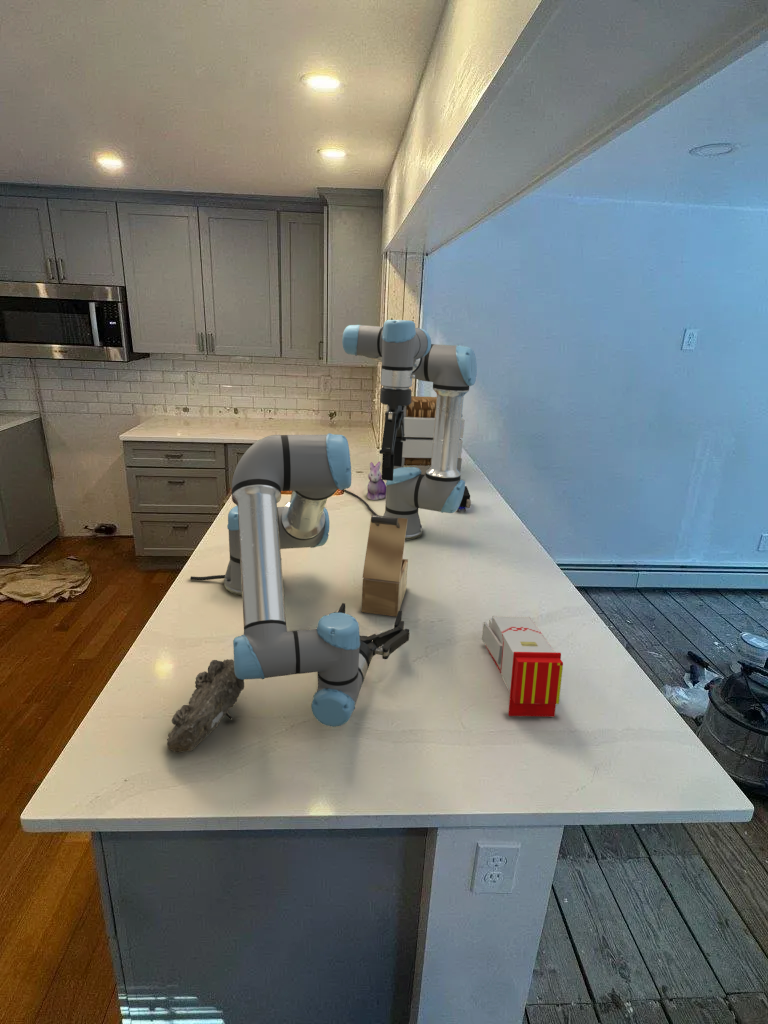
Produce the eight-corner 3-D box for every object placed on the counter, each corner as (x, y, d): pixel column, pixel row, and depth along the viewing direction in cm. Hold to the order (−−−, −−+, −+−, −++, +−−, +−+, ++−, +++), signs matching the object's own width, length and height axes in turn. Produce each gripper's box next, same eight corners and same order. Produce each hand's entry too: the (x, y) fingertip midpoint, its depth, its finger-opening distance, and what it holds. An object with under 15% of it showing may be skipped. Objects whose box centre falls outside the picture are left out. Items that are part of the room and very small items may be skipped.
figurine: (371, 501, 231) (372, 466, 226) (360, 494, 239) (361, 460, 234) (391, 499, 235) (393, 464, 230) (380, 492, 244) (382, 458, 238)
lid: (371, 515, 148) (366, 508, 140) (407, 519, 147) (404, 512, 138) (362, 577, 145) (357, 574, 137) (399, 582, 143) (395, 578, 135)
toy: (528, 601, 136) (572, 659, 107) (523, 653, 139) (565, 722, 110) (478, 600, 136) (508, 657, 107) (474, 652, 139) (503, 722, 109)
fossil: (192, 660, 117) (244, 628, 112) (224, 691, 120) (276, 661, 115) (142, 746, 98) (202, 712, 93) (182, 779, 101) (242, 748, 96)
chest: (373, 585, 162) (374, 555, 159) (406, 589, 160) (408, 559, 157) (361, 612, 148) (362, 579, 144) (397, 616, 146) (399, 584, 143)
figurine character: (470, 516, 223) (465, 500, 237) (473, 499, 220) (467, 484, 233) (453, 516, 223) (449, 500, 236) (455, 498, 220) (451, 483, 233)
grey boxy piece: (382, 463, 289) (386, 382, 275) (445, 464, 293) (451, 384, 279) (390, 482, 257) (394, 392, 243) (460, 483, 261) (468, 394, 247)
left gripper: (291, 670, 118) (320, 618, 137) (410, 688, 114) (422, 632, 134) (291, 639, 115) (320, 591, 135) (412, 656, 111) (425, 604, 131)
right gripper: (403, 395, 124) (398, 488, 131) (418, 382, 147) (413, 461, 154) (370, 393, 125) (367, 484, 133) (389, 380, 148) (386, 459, 156)
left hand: (371, 611), depth 134 cm, fingers open, 13 cm apart
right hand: (392, 472), depth 143 cm, fingers open, 13 cm apart
